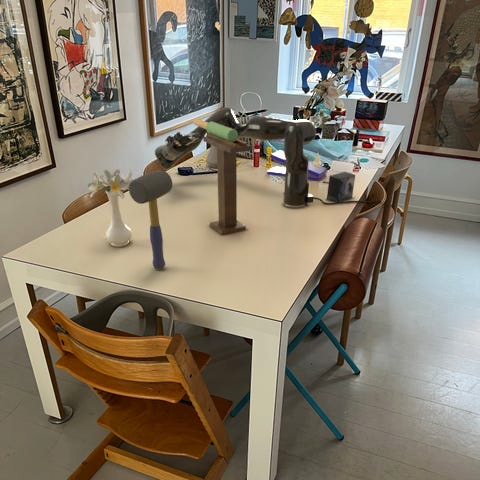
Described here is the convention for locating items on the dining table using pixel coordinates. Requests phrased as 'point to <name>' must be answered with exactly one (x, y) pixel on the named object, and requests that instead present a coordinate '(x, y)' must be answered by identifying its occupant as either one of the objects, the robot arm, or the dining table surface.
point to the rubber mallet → (152, 207)
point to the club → (218, 130)
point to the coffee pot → (213, 156)
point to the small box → (340, 186)
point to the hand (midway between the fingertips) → (189, 133)
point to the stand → (227, 183)
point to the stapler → (280, 158)
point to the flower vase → (114, 204)
